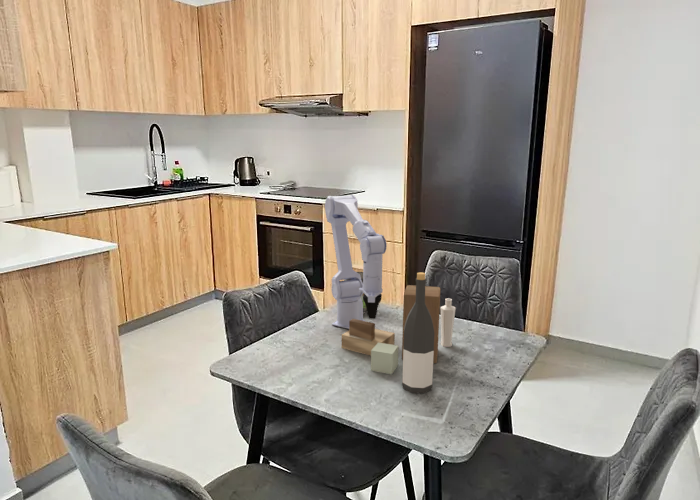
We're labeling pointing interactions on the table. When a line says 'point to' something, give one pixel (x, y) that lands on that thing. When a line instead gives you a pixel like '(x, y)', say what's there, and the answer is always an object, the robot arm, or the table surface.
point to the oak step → (364, 345)
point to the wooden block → (432, 305)
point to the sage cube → (384, 358)
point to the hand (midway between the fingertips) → (372, 317)
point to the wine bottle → (418, 344)
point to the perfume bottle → (447, 323)
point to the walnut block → (362, 330)
